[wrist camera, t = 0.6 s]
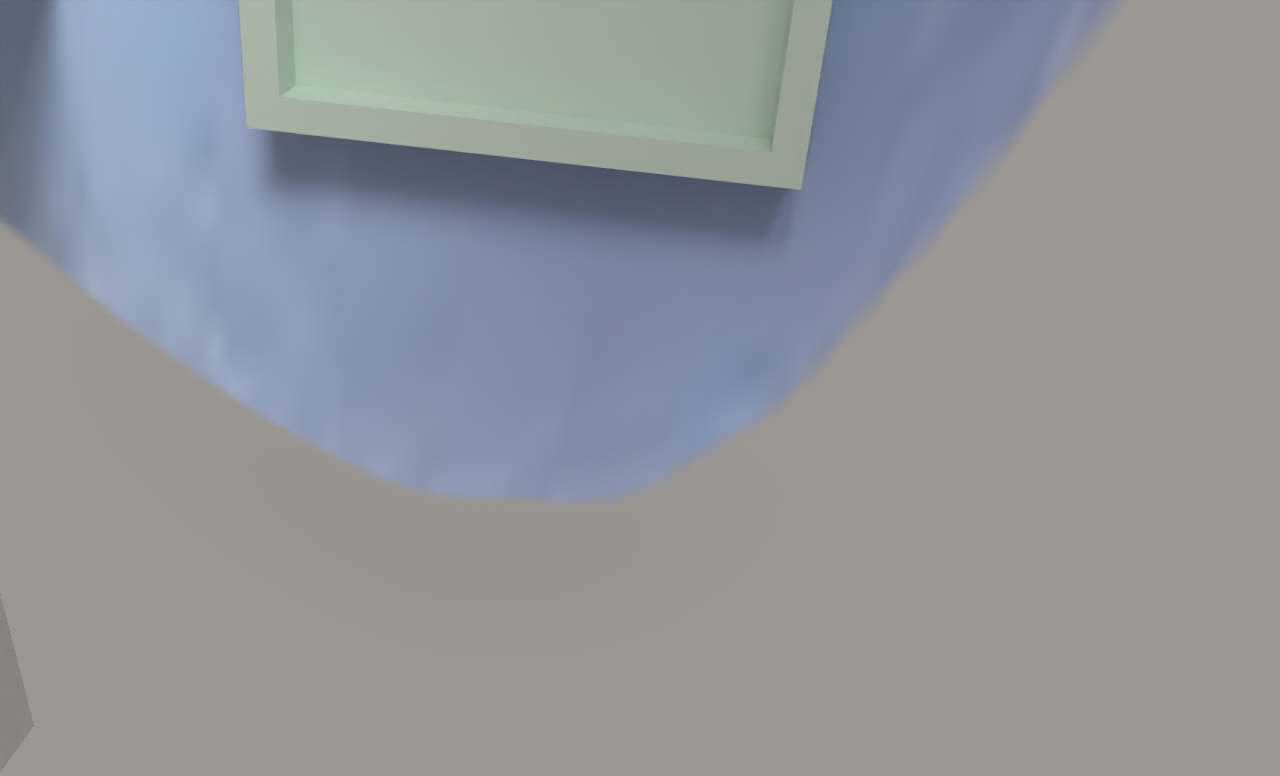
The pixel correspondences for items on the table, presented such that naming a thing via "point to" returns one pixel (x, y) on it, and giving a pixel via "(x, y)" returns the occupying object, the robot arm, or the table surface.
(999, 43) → the table surface
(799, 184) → the tray
